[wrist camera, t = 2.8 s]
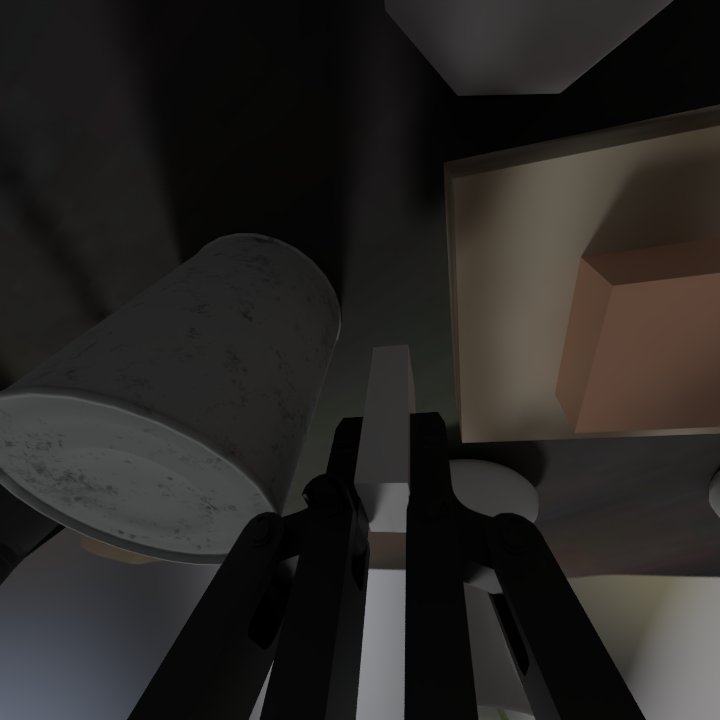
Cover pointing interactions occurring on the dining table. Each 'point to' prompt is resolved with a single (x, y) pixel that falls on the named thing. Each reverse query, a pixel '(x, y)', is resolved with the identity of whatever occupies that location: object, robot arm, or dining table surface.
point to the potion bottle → (518, 39)
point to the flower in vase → (489, 655)
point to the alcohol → (715, 493)
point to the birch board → (560, 254)
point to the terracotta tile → (644, 340)
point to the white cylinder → (179, 405)
